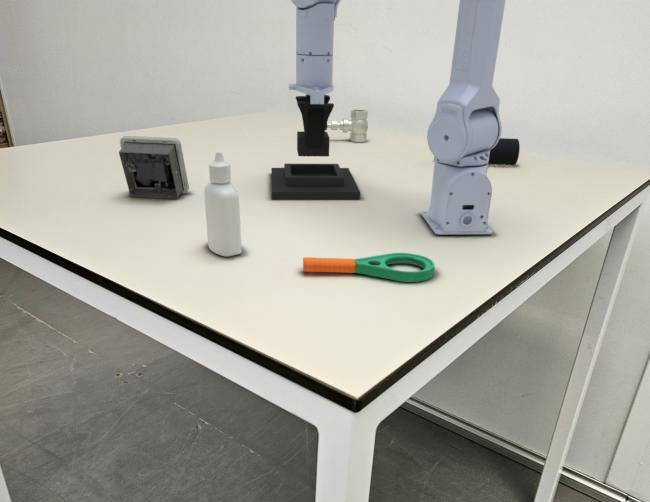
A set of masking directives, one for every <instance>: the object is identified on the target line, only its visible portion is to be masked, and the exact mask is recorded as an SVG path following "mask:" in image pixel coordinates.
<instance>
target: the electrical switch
mask: <svg viewBox="0 0 650 502" xmlns="http://www.w3.org/2000/svg"><path fill="white" fill-rule="evenodd" d="M119 145H120V150H119V151H118V156H119V158H120V162H121V166H122V169H123V170H122V171H123V173H124V177H125V181H126V184H127V188H128V192H129V195H130V197H133V198H153V199H173V200H178V199H179V197H180V195H181V194H182V195H184V194H187V193H188V192H189V189H190V185H189V179H188V175H187V169H186V163H185V158H184V152H183V148H182V143H181V140H179V139H178V138H177V137H163V136H161V137H160V136H140V135H139V136H138V135H137V136H136V135H123V136H122V137H121V138H120V139H119Z"/></svg>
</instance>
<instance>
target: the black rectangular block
mask: <svg viewBox="0 0 650 502" xmlns="http://www.w3.org/2000/svg"><path fill="white" fill-rule="evenodd" d="M330 140H331V139H330V136H329V133H328V132H327V131H325V133H324V138H323V143H322V147H321V148H308V145H307V140H306V133H305V132H304V131H297V133H296V150H297V156H298V157H330Z"/></svg>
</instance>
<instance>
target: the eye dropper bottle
mask: <svg viewBox="0 0 650 502" xmlns="http://www.w3.org/2000/svg"><path fill="white" fill-rule="evenodd" d="M208 164H209V165H208V170H209V171H208V172H209V181H210V182H209V183H207V184H206V185H205V186H204V191H203V192H204V194H203V195H204V205H205V206H204V207H205V209H204V210H205V221H206V234H207V235H206V237H207V246H208V248H209V250H210V251H211V252H213V253H214V254H217V255H218V256H221V257H225V258H226V257H227V258H228V257H233V256H238V255H240V254H242V230H241V210H240V209H241V208H240V207H241V206H240V197H239V195H240V194H239V192H238V190H237V187H236V186H235V185H234V184H233V183H232V182H231V181H232V177H231V176H232V175H231V173H232V172H231V164H230V162H227V161H226V160H225V159H224V155H223V151H221V150H220V151H219V150H217V151H215V155H214V160H213V161H212V162H210V163H208Z"/></svg>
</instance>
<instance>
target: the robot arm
mask: <svg viewBox="0 0 650 502" xmlns="http://www.w3.org/2000/svg"><path fill="white" fill-rule="evenodd" d="M290 1H291V2H292V4H293V5H294V6H295V53H296V54H295V66H296V67H295V83H289V84H288V90H289V91H297V92H300V93H302V94H305V95H296V96H295V100H296V103H297V107H298V109H299V111H300V114H301V118H302V126H303V132H305V133H306V140H307V145H308V148H321V147H322V143H323V138H324V133H325V132H326V130H325V128H326V124H327V123H328V120H329V118H330V115H331V113H332V112H333V110H334V107H335V104H334V103H331V102H330V101H331V96H330V95H328V94H330V93H331V92H333V91H334V84H333V76H334V75H333V72H334V71H333V70H334V38H335V36H334V33H335V21H336V18H337V17H338V15H337V14H338V7H339V5H340V3H341V1H342V0H290ZM505 6H506V0H459V3H458V12H457V20H456V27H455V30H456V31H455V38H454V42H453V43H454V44H453V51H452V52H453V53H452V60H451V68H450V77H449V84H448V85H447V87H446V89H445V90H444V91H443V93H442V94H441V95H440V97H439V99H438V100H437V103H436V110H435V114H434V116H433V119H432V121H431V122H430V124H429V126H428V128H427V129H428V130H427V135H426V140H427V141H426V142H427V145H428V148H429V151H430V152H431V154H432V155H433V162H434V163H433V164H434V165H433V173H432V185H431V191H430V193H431V194H430V202H429V210H421V211H420V215H421V216H422V217H423V219H424V220H425V222H426V223H427V224H428V226H429V227H430V228H431V230H432V231H433V232H434V234H435V235H439V236H441V235H442V236H443V235H444V236H445V235H492V234H493V230H492V228H491V227H490V226H489V225H488V221H489V213H490V209H491V201H492V195H493V186H492V182H491V180H490V178H489V177H488V169H489V164H488V162H489V154H490V150H491V149H492V148H494V147H495V146H496V144H497V143H498V141H499V139H500V138H501V136H502V131H503V130H502V129H503V126H502V121H501V118H500V103H501V98H500V97H499V95H498V93H497V92H496V90H495V89H494V86H493V82H494V78H495V77H494V76H495V71H496V64H497V56H498V51H499V44H500V37H501V31H502V25H503V20H504V19H503V18H504V12H505Z"/></svg>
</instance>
